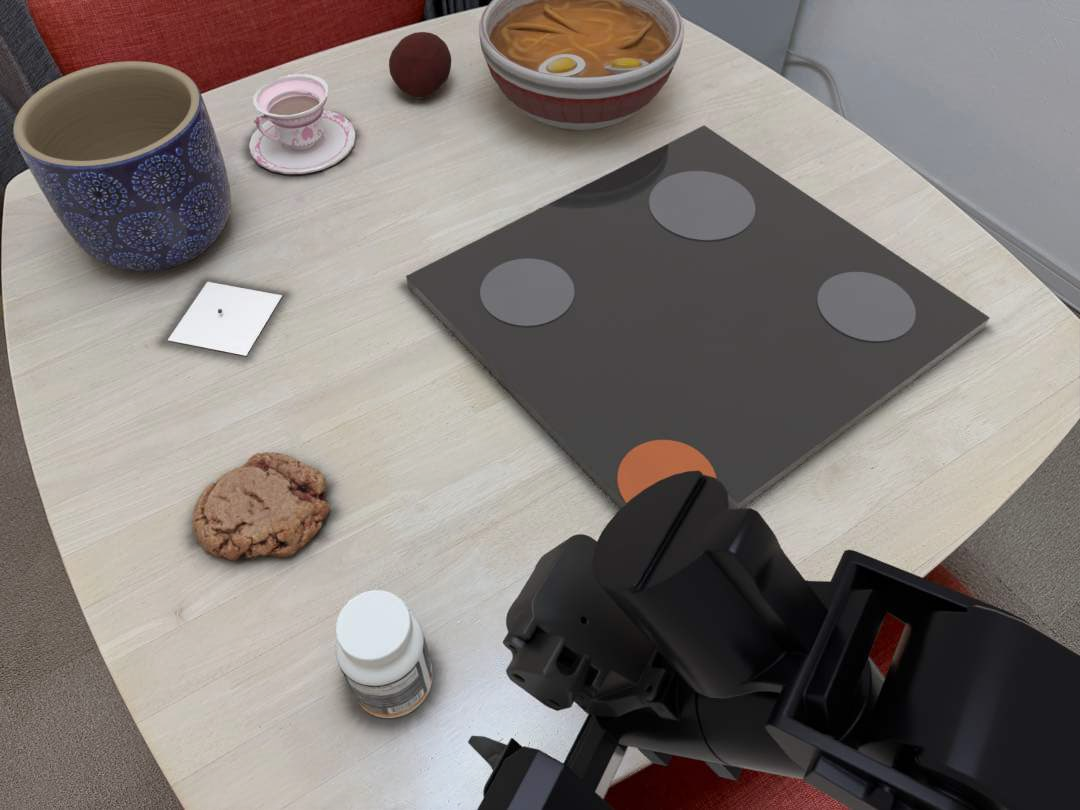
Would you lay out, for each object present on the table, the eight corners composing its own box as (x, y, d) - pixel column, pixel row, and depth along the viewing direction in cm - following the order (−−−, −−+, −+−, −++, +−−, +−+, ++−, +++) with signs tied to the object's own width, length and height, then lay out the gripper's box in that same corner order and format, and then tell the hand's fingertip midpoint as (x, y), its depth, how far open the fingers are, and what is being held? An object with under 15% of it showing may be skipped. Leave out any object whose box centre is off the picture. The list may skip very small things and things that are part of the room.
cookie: (178, 506, 72) (165, 486, 70) (296, 442, 76) (287, 421, 73) (230, 596, 67) (219, 578, 65) (353, 523, 71) (346, 503, 69)
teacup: (314, 100, 107) (303, 52, 102) (377, 142, 102) (369, 94, 97) (229, 144, 102) (213, 96, 97) (291, 190, 96) (278, 142, 92)
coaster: (246, 355, 82) (243, 350, 81) (167, 340, 83) (164, 334, 82) (282, 295, 86) (280, 289, 86) (207, 281, 88) (205, 275, 87)
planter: (219, 295, 87) (168, 169, 75) (54, 288, 87) (-23, 163, 76) (262, 187, 97) (223, 61, 85) (113, 181, 98) (54, 56, 86)
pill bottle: (365, 638, 65) (340, 575, 57) (441, 648, 65) (427, 586, 57) (343, 715, 62) (314, 660, 54) (424, 726, 61) (407, 673, 53)
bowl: (631, 182, 97) (639, 101, 89) (448, 129, 103) (440, 49, 95) (700, 76, 110) (712, -3, 102) (533, 34, 116) (533, -44, 108)
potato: (459, 70, 111) (455, 16, 105) (447, 109, 106) (441, 55, 100) (401, 66, 111) (394, 13, 106) (386, 105, 106) (377, 51, 101)
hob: (983, 328, 84) (990, 316, 82) (670, 561, 69) (672, 551, 67) (702, 136, 102) (704, 123, 101) (407, 286, 87) (405, 274, 86)
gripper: (718, 406, 40) (509, 449, 52) (509, 796, 30) (311, 737, 42) (842, 566, 43) (622, 571, 55) (695, 957, 33) (465, 861, 45)
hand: (517, 669), depth 49 cm, fingers open, 9 cm apart
